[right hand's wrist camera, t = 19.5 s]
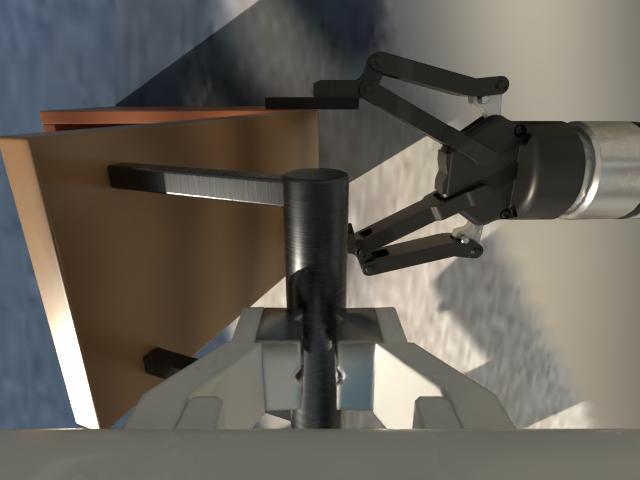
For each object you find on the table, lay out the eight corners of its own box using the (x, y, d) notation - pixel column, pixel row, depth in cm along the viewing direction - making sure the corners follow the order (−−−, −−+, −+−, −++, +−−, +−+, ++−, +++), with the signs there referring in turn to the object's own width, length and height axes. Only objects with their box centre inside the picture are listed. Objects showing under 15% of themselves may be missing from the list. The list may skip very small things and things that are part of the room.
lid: (75, 423, 13) (310, 524, 10) (-6, 136, 10) (304, 153, 7) (303, 245, 29) (424, 262, 26) (301, 110, 26) (438, 111, 23)
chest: (129, 208, 38) (70, 245, 29) (112, 106, 35) (39, 111, 26) (311, 206, 39) (311, 242, 29) (310, 105, 36) (309, 109, 26)
